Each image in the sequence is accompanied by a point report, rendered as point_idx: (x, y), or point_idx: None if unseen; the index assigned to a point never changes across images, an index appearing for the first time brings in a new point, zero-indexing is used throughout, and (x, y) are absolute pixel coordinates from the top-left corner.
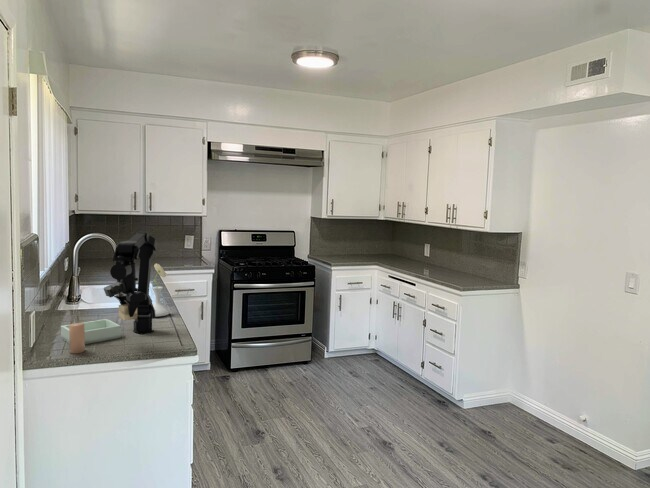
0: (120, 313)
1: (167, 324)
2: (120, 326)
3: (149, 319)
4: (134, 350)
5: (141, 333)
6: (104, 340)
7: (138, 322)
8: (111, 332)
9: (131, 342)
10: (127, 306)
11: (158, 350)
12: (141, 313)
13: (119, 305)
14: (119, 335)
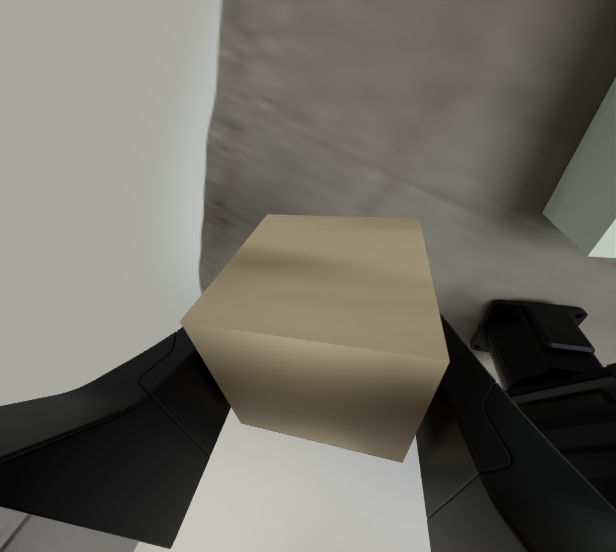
0: (362, 251)
1: None
2: (585, 252)
3: (503, 389)
4: (266, 171)
5: (489, 307)
6: (609, 92)
7: (537, 350)
8: (608, 167)
9: (402, 217)
10: (236, 370)
11: (225, 243)
12: (528, 407)
13: (402, 353)
14: (553, 213)
